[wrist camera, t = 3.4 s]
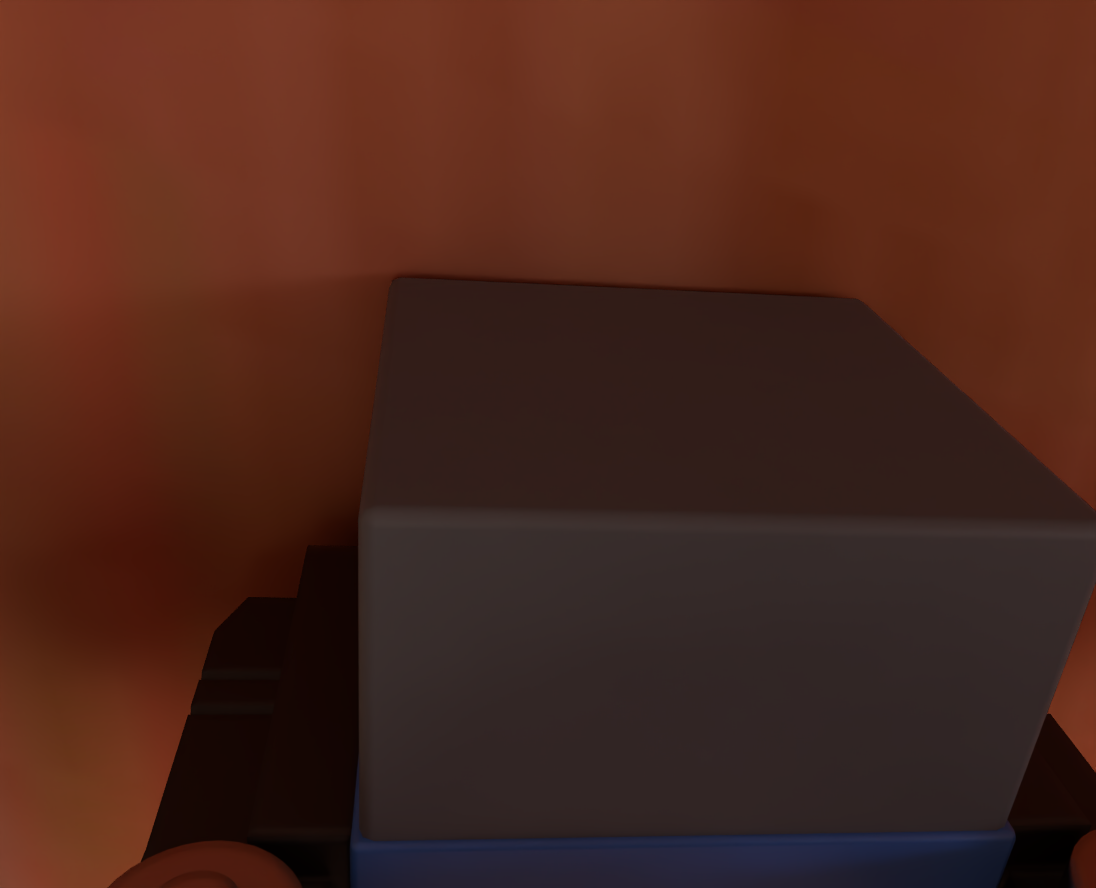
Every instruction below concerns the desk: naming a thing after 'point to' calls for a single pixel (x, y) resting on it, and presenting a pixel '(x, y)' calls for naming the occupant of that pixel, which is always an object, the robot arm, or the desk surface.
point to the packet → (694, 598)
